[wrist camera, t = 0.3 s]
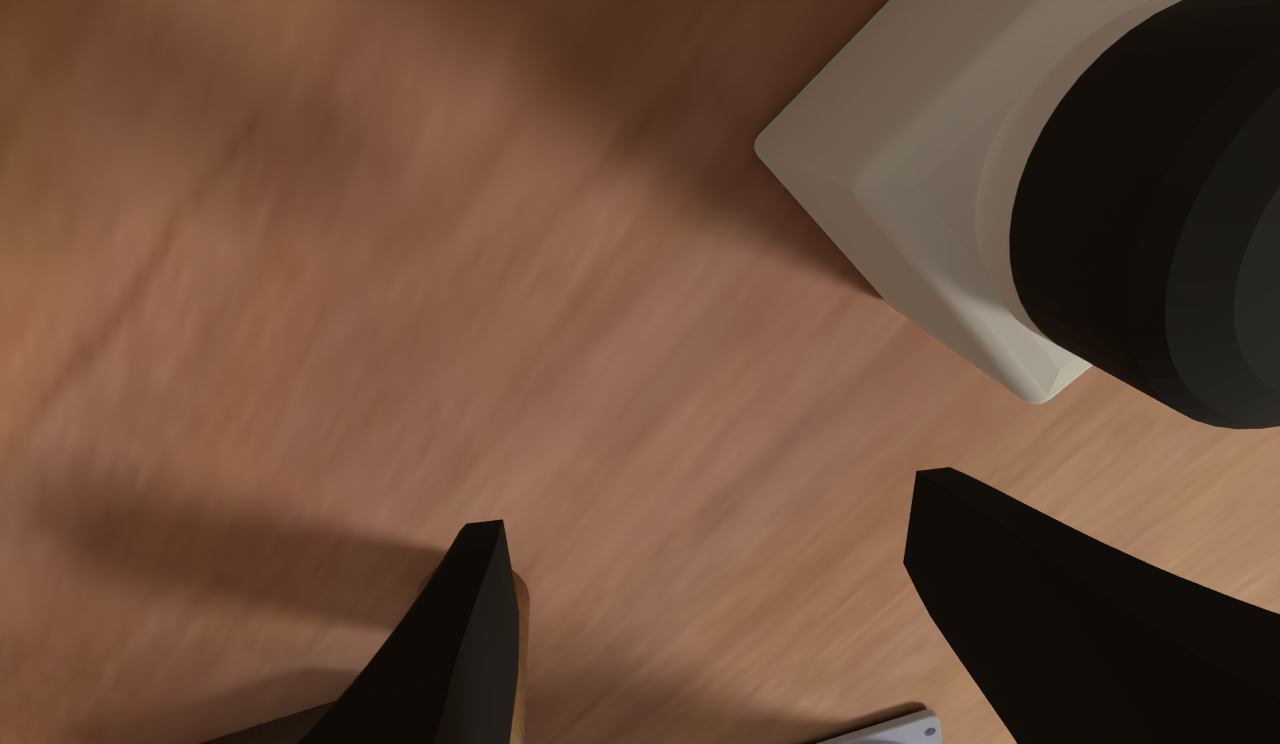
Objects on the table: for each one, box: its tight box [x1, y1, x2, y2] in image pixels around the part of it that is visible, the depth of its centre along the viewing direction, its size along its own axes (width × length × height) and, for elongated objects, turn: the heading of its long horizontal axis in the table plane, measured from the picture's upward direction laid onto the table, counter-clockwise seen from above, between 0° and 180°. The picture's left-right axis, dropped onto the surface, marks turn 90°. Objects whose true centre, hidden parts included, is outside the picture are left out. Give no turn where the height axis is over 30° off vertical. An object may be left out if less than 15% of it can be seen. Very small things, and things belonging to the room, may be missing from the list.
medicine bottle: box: [754, 0, 1280, 429], centre depth 13 cm, size 7×7×12 cm
